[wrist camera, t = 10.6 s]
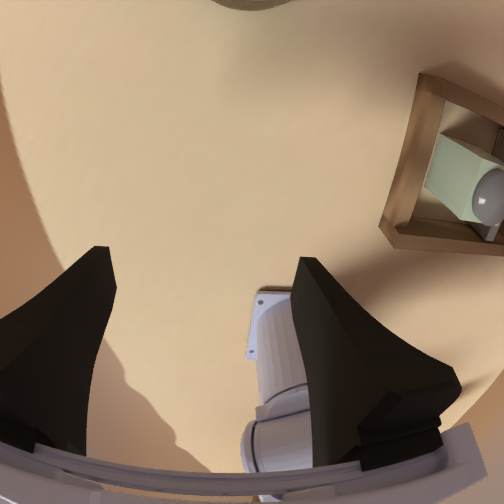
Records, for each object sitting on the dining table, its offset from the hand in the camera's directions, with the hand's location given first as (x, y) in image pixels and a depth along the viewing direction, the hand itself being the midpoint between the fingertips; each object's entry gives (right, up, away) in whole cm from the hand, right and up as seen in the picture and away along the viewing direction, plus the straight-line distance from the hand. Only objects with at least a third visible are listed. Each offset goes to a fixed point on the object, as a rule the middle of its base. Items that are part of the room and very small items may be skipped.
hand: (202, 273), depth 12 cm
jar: (+18, +8, +9) cm, 21 cm away
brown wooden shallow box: (+20, +7, +9) cm, 24 cm away
